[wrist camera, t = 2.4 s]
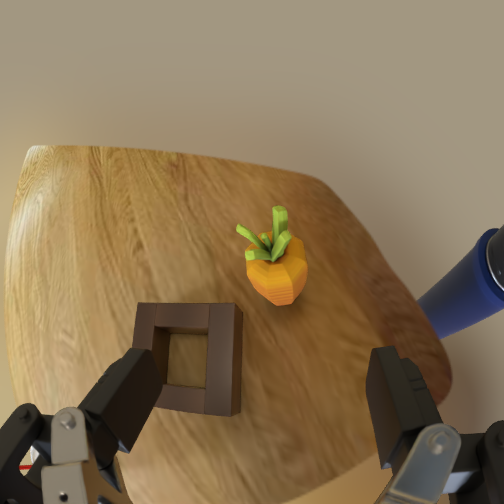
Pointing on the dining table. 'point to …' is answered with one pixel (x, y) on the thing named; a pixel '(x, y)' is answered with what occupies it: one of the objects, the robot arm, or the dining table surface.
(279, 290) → the carrot
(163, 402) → the socket block
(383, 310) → the dining table surface
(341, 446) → the dining table surface
